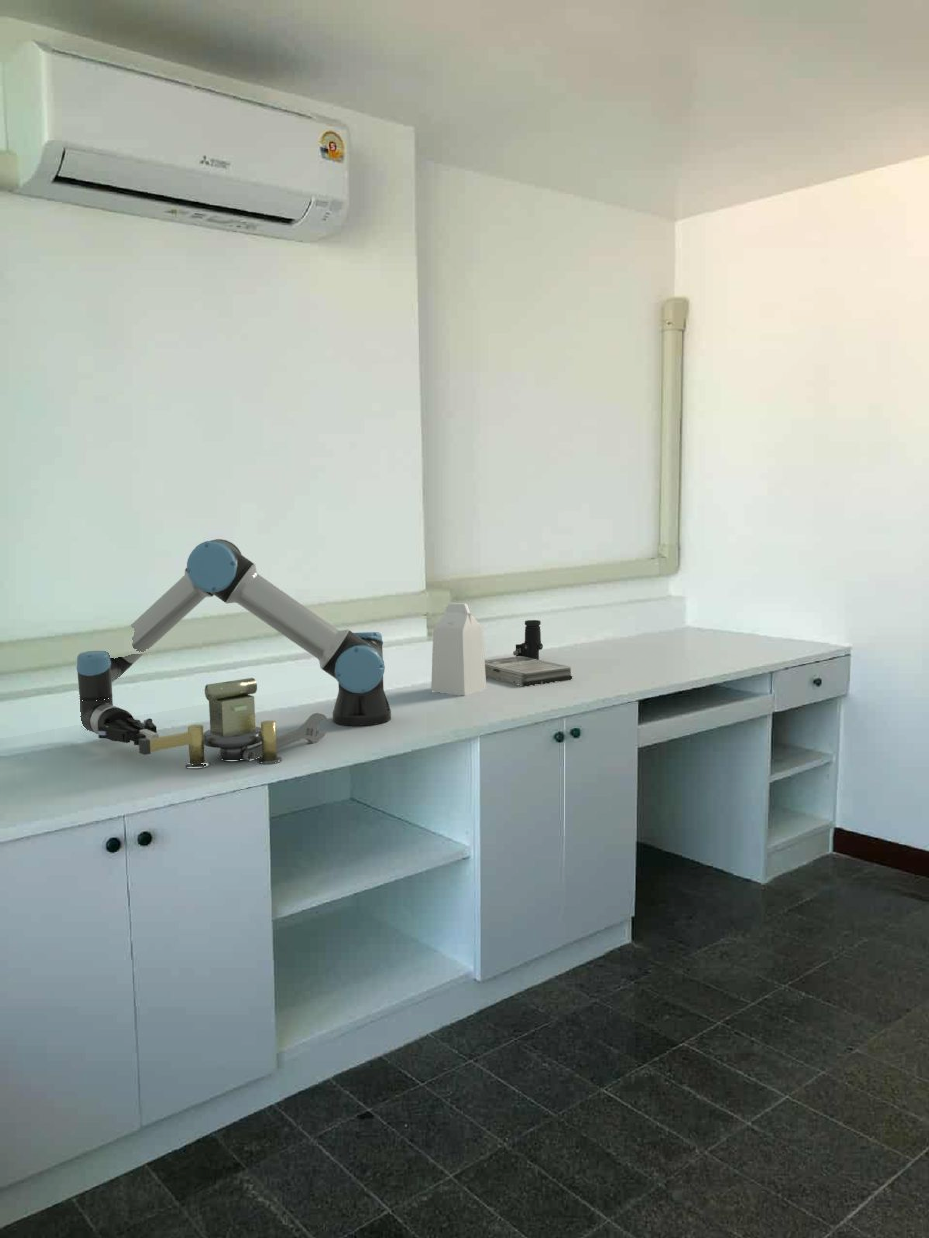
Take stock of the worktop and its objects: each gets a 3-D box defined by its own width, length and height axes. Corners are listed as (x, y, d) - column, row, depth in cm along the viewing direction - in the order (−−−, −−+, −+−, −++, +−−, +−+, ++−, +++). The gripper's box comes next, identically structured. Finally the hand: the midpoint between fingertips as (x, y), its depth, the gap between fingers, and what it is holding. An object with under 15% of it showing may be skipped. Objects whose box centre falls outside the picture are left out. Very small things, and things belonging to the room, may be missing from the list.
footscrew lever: (200, 759, 224) (198, 724, 223) (207, 762, 222) (205, 726, 221) (139, 771, 215) (137, 734, 214) (146, 774, 213) (144, 737, 212)
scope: (526, 618, 355) (549, 620, 349) (526, 657, 357) (549, 660, 350) (511, 620, 349) (534, 623, 343) (512, 660, 351) (534, 663, 344)
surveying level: (239, 744, 240) (236, 671, 238) (286, 760, 225) (282, 682, 222) (165, 759, 228) (161, 682, 226) (208, 777, 212) (204, 695, 210)
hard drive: (524, 688, 304) (524, 673, 304) (474, 675, 327) (474, 661, 326) (572, 681, 314) (572, 666, 314) (520, 669, 337) (520, 655, 336)
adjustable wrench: (246, 752, 224) (241, 750, 225) (252, 778, 225) (246, 777, 226) (325, 710, 242) (320, 709, 243) (330, 735, 244) (324, 734, 245)
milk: (486, 689, 302) (485, 602, 298) (464, 695, 292) (463, 606, 289) (453, 685, 308) (451, 600, 305) (431, 691, 299) (429, 604, 296)
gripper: (140, 733, 242) (184, 752, 224) (86, 743, 233) (127, 763, 215) (138, 703, 241) (182, 718, 223) (84, 711, 232) (125, 728, 215)
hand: (155, 740), depth 219 cm, fingers closed
